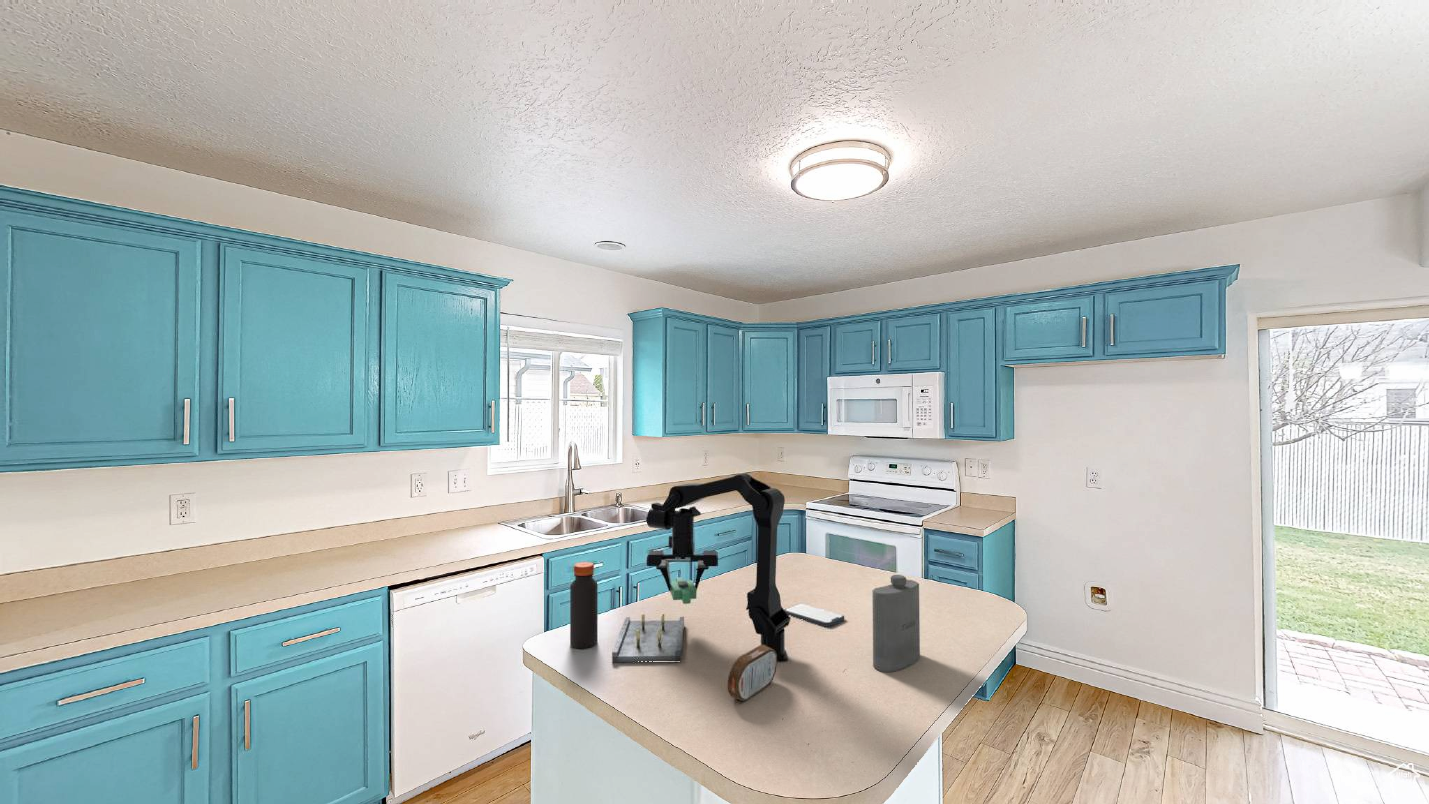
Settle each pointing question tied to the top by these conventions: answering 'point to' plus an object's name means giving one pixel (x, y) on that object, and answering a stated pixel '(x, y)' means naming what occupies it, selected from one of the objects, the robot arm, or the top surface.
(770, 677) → the tin
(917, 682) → the top surface
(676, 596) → the green block piece
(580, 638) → the bottle
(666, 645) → the chassis
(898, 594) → the flask
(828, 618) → the phone case
